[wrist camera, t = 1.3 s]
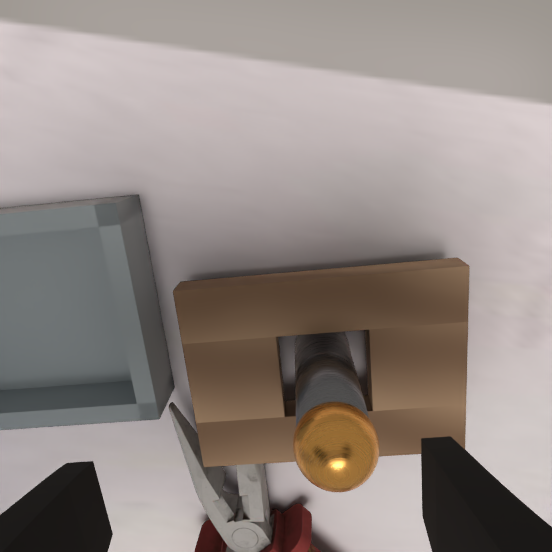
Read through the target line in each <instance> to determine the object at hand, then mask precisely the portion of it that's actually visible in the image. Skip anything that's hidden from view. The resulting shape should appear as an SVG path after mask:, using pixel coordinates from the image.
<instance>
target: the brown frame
mask: <svg viewBox="0 0 552 552" xmlns="http://www.w3.org/2000/svg"><path fill="white" fill-rule="evenodd" d="M173 295H174V301H175V306H176V312H177V318H178V323H179V329H180V335H181V341H182V346H183V352H184V358H185V363H186V369H187V375H188V380H189V386H190V392H191V398H192V403H193V409H194V415H195V420H196V426H197V432H198V438H199V443H200V449H201V455H202V460H203V466H204V467H213V466H230V465H246V464H262V463H278V462H295V461H296V459H295V456H294V450H293V439H294V433H295V430H296V400H289V401H285V396H284V387H283V377H282V368H281V359H280V350H279V340H278V337H280V336H293V335H306V334H318V333H331V332H344V331H357V330H365V339H366V360H367V382H368V395H363V398H364V401H365V405H366V409H367V412H368V416H369V419H370V421H371V422H372V424H373V425H374V428H375V430H376V432H377V436H378V440H379V456H392V455H409V454H421V438H433V437H447V436H451V437H452V438H453V439H454V440H455V441H456V442H457V443H459V444H460V445H461V446H462V447H463V448H464V449H465V426H466V384H467V342H468V300H469V265H467V264H466V263H465V262H463V261H462V260H460V259H459V258H448V259H436V260H425V261H413V262H402V263H390V264H379V265H367V266H356V267H344V268H333V269H321V270H310V271H298V272H287V273H275V274H264V275H252V276H241V277H229V278H218V279H206V280H195V281H183V282H180V283H179V284H178V285H177V287H176V288H175V289H174V291H173Z"/></svg>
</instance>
